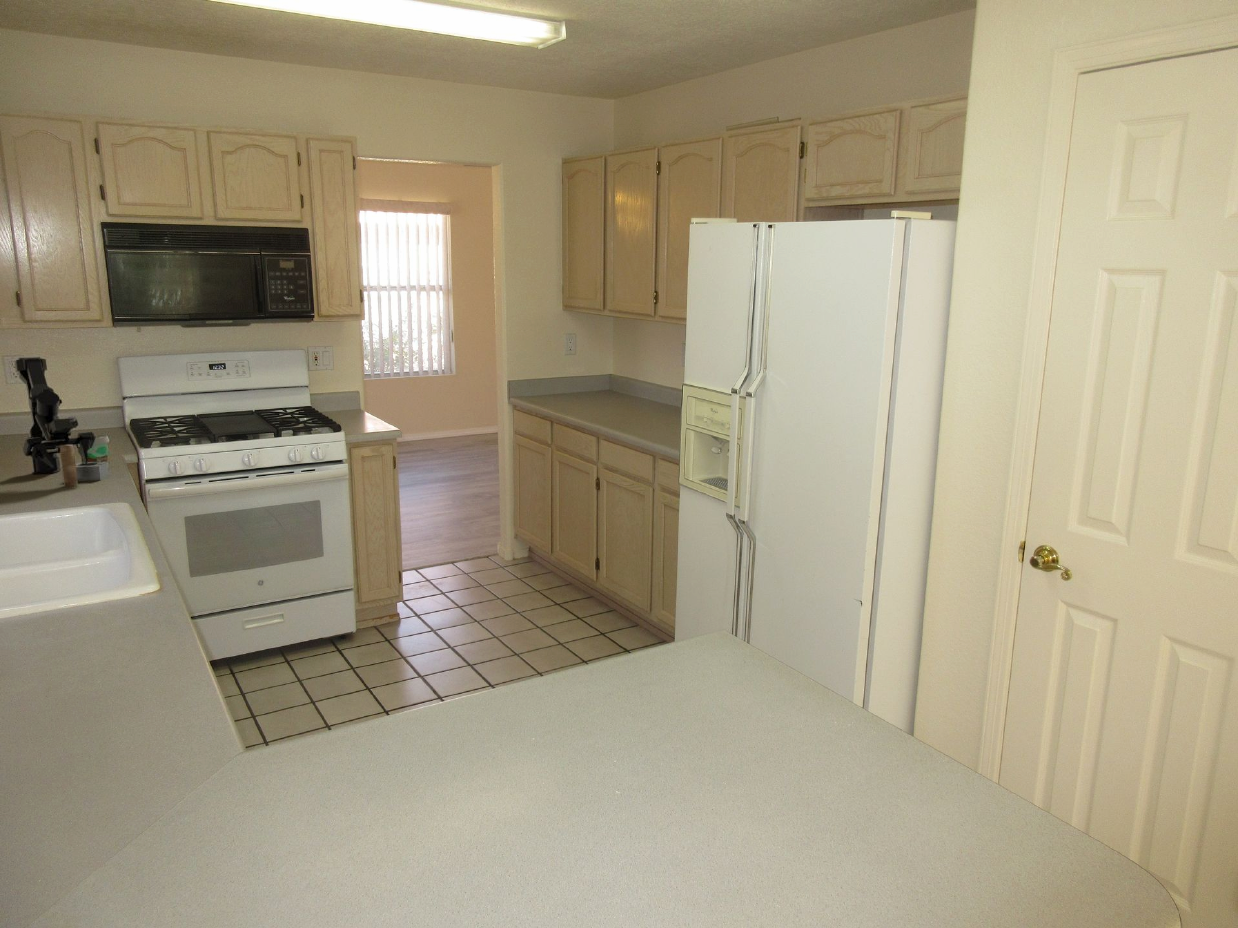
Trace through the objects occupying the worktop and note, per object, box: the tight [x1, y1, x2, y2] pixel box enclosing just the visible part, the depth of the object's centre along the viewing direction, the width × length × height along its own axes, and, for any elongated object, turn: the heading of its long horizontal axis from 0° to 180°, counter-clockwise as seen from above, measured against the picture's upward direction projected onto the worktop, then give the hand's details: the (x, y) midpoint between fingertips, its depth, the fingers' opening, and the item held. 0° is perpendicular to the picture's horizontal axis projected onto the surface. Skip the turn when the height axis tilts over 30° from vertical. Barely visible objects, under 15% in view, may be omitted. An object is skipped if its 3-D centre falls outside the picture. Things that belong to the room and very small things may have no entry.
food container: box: [80, 434, 110, 462], centre depth 301 cm, size 12×6×10 cm, turn 179°
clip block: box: [75, 461, 111, 482], centre depth 279 cm, size 9×9×4 cm
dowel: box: [59, 445, 79, 488], centre depth 267 cm, size 4×4×12 cm
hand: (70, 464), depth 266 cm, fingers open, 9 cm apart
